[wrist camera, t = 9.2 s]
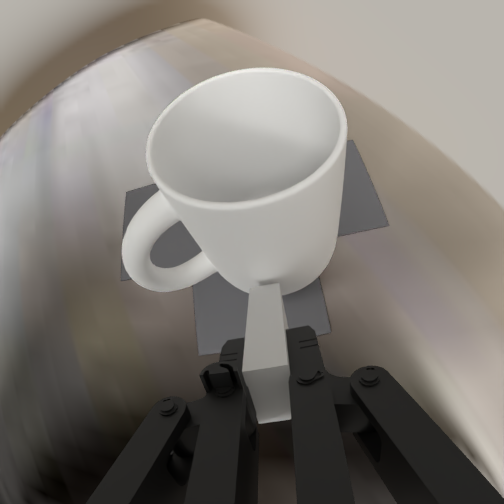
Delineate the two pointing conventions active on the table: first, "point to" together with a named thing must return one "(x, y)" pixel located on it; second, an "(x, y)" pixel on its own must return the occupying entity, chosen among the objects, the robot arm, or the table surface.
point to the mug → (244, 182)
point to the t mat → (236, 301)
